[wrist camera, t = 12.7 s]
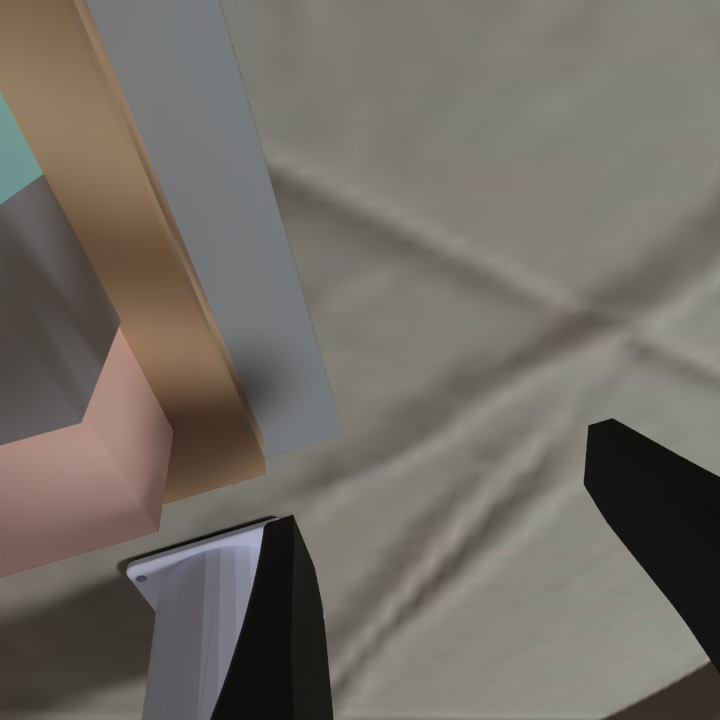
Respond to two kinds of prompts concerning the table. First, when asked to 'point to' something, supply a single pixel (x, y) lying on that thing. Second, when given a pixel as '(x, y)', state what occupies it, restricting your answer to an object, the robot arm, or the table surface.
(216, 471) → the pallet
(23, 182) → the block
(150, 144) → the grey flat block
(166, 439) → the crate rose
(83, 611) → the table surface
